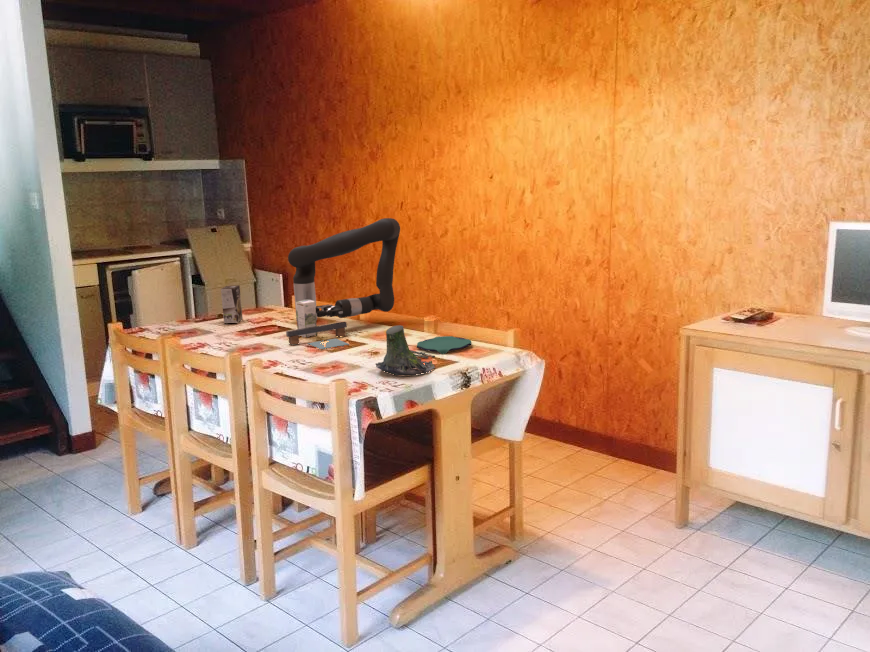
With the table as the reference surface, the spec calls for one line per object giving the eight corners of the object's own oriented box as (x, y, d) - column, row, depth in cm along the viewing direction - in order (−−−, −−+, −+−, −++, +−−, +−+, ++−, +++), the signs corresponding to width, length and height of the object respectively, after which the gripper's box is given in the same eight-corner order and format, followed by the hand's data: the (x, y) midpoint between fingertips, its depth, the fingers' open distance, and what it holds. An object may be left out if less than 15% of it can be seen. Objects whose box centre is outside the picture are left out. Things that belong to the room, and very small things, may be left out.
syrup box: (309, 333, 312) (306, 299, 309) (317, 335, 308) (315, 300, 305) (297, 336, 308) (295, 301, 305) (306, 338, 304) (303, 302, 301)
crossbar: (286, 336, 293) (286, 331, 293) (344, 326, 306) (344, 321, 306) (288, 337, 292) (288, 331, 291) (346, 327, 304) (346, 322, 304)
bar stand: (289, 344, 295) (288, 335, 294) (342, 335, 307) (341, 326, 306) (292, 345, 292) (291, 336, 292) (345, 336, 304) (345, 327, 304)
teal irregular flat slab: (482, 346, 280) (481, 340, 280) (422, 364, 261) (421, 358, 260) (444, 339, 295) (444, 333, 294) (385, 356, 275) (385, 350, 275)
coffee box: (238, 324, 336) (234, 288, 333) (223, 324, 336) (220, 288, 333) (243, 319, 345) (240, 284, 341) (229, 320, 345) (225, 285, 342)
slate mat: (307, 344, 293) (307, 343, 293) (335, 339, 299) (335, 338, 299) (320, 350, 283) (320, 349, 283) (349, 345, 289) (349, 343, 289)
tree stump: (448, 371, 251) (437, 322, 244) (399, 396, 242) (386, 347, 235) (417, 357, 266) (406, 311, 259) (370, 381, 256) (357, 334, 249)
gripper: (340, 296, 321) (305, 301, 312) (355, 301, 309) (319, 306, 301) (341, 313, 323) (306, 319, 314) (356, 319, 311) (320, 324, 302)
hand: (312, 313), depth 307 cm, fingers open, 8 cm apart
